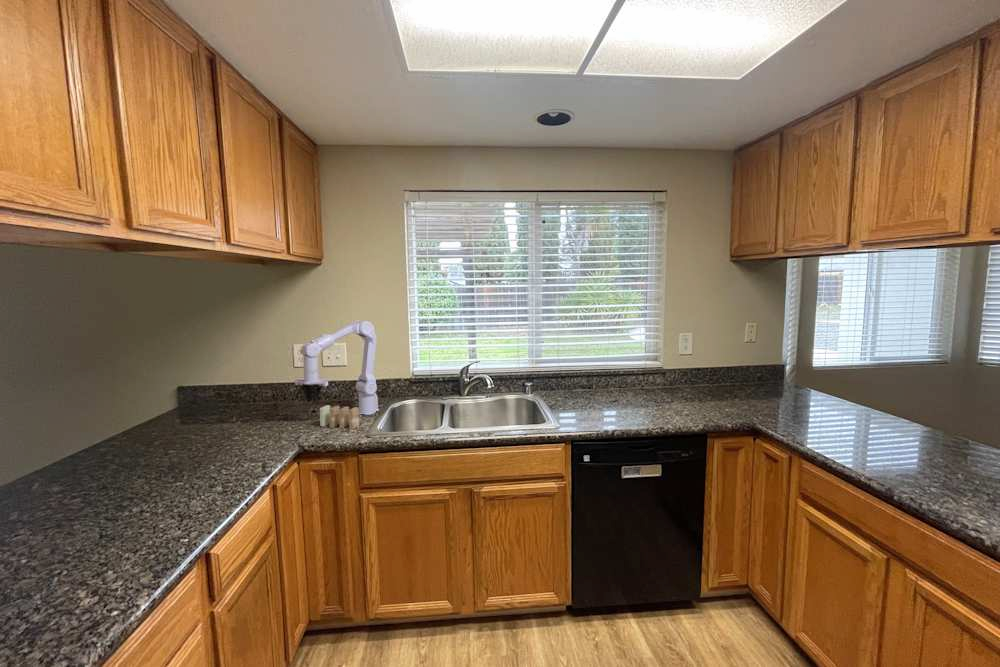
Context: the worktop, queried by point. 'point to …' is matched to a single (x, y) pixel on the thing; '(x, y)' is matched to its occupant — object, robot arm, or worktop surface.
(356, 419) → the domino
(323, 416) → the domino
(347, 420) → the domino
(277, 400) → the worktop surface
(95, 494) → the worktop surface
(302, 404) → the worktop surface
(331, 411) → the domino
